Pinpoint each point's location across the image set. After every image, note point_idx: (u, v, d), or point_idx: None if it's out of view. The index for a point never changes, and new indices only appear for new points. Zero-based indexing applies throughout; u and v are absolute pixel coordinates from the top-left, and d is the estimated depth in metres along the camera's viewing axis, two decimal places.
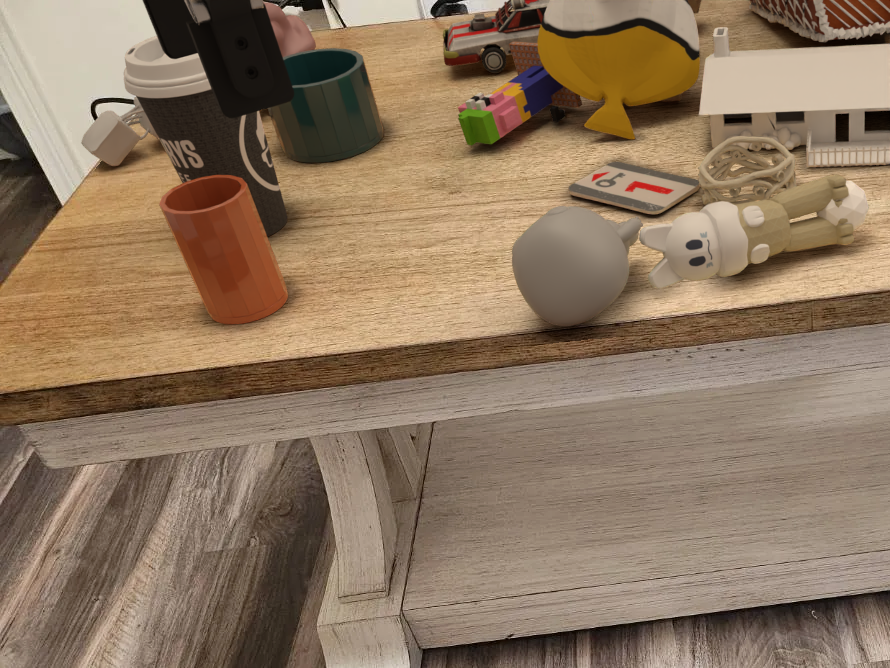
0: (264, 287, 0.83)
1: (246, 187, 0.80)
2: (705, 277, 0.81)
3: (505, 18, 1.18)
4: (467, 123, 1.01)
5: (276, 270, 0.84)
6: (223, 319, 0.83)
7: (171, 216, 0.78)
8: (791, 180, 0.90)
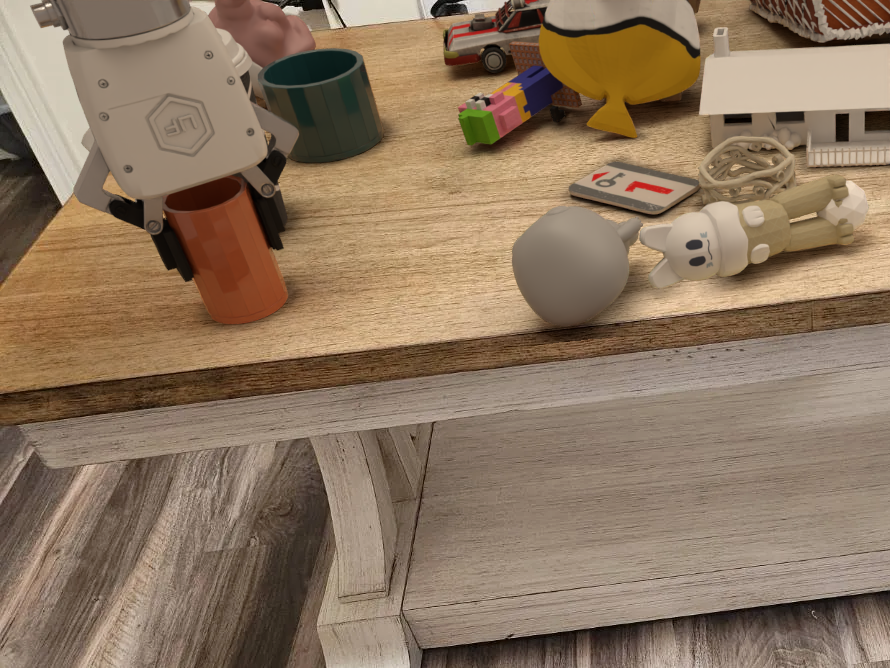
0: (264, 287, 0.83)
1: (246, 187, 0.80)
2: (705, 277, 0.81)
3: (505, 18, 1.18)
4: (467, 123, 1.01)
5: (276, 270, 0.84)
6: (223, 319, 0.83)
7: (171, 216, 0.78)
8: (791, 180, 0.90)
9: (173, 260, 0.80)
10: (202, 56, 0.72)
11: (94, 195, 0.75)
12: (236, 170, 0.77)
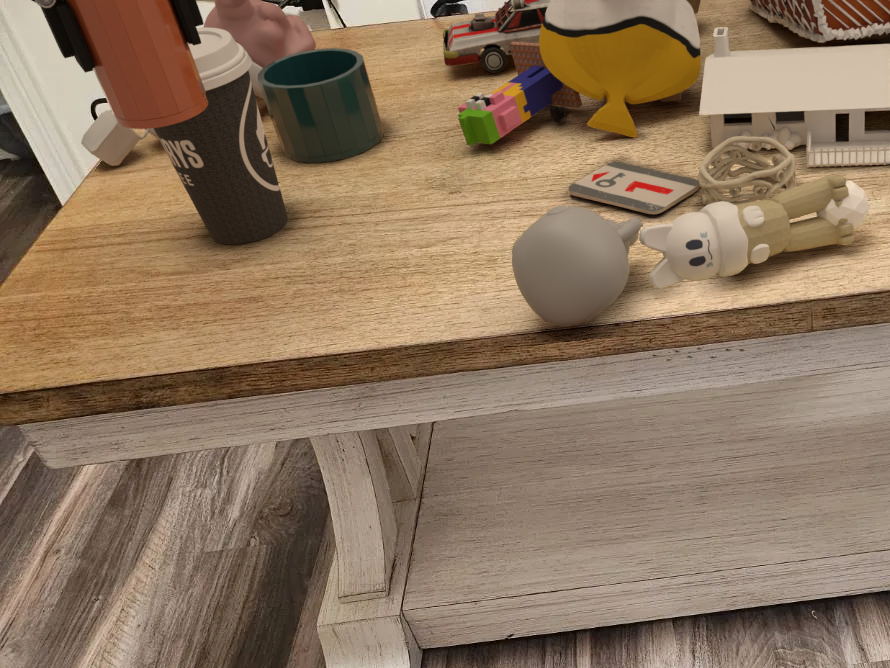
0: (178, 86, 0.73)
1: None
2: (705, 277, 0.81)
3: (505, 18, 1.18)
4: (467, 123, 1.01)
5: (193, 69, 0.74)
6: (131, 123, 0.73)
7: None
8: (791, 179, 0.90)
9: (70, 44, 0.70)
10: None
11: None
12: None
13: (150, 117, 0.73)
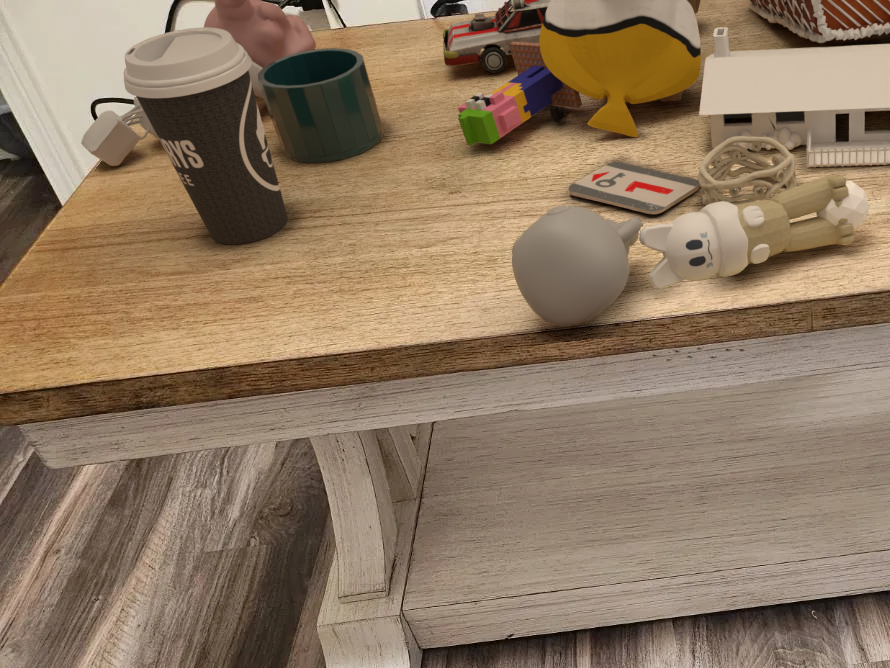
0: None
1: None
2: (705, 277, 0.81)
3: (505, 18, 1.18)
4: (467, 123, 1.01)
5: None
6: None
7: None
8: (791, 179, 0.90)
9: None
10: None
11: None
12: None
13: None
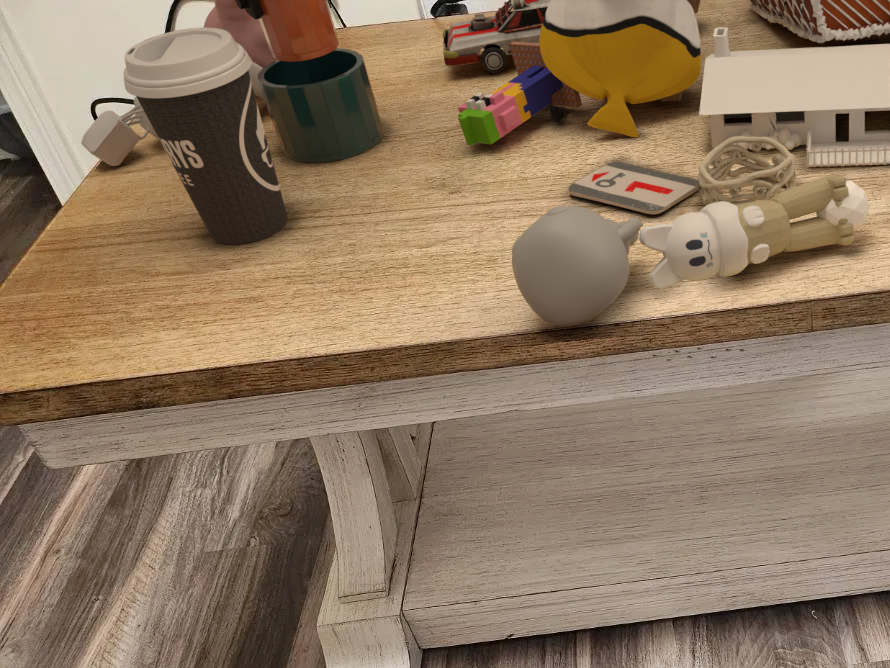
0: (320, 28, 0.99)
1: None
2: (705, 277, 0.81)
3: (505, 18, 1.18)
4: (467, 123, 1.01)
5: (330, 17, 1.00)
6: (285, 57, 0.99)
7: None
8: (791, 179, 0.90)
9: None
10: None
11: None
12: None
13: (300, 52, 0.99)
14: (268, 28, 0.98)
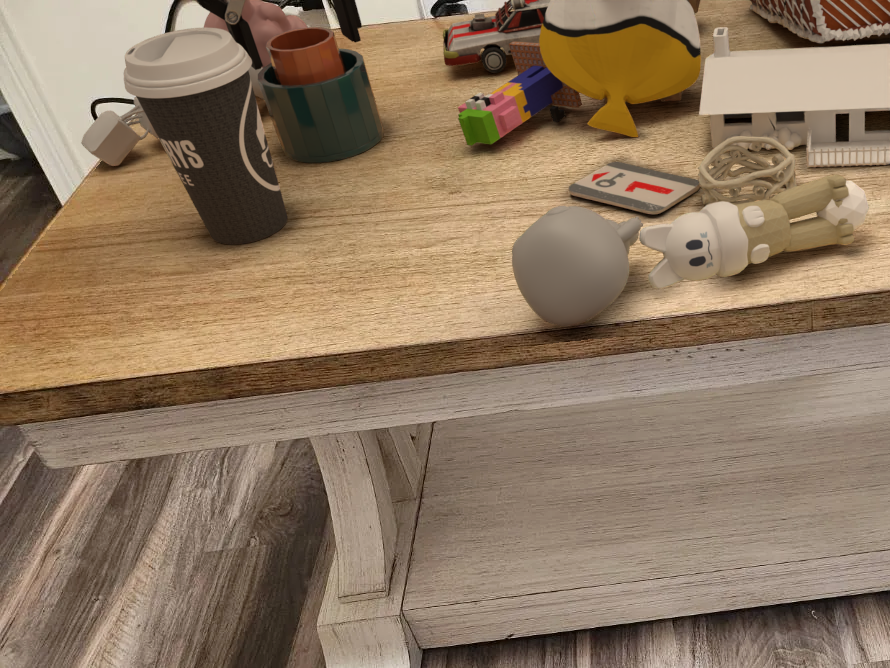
0: None
1: (333, 34, 1.01)
2: (705, 277, 0.81)
3: (505, 18, 1.18)
4: (467, 123, 1.01)
5: None
6: None
7: (276, 53, 0.99)
8: (791, 179, 0.90)
9: (246, 50, 0.98)
10: None
11: None
12: None
13: None
14: None
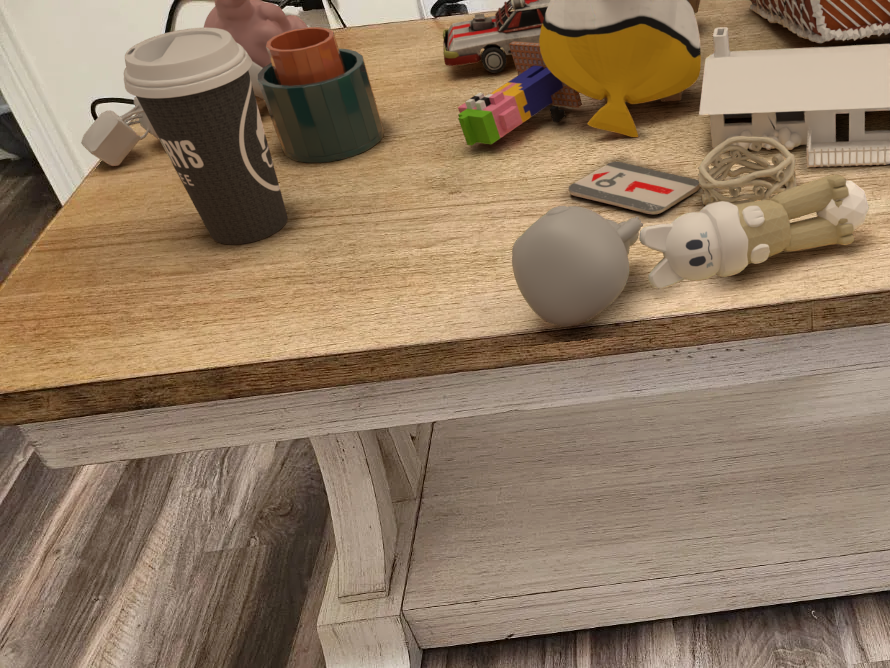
0: None
1: (333, 34, 1.01)
2: (705, 277, 0.81)
3: (505, 18, 1.18)
4: (467, 123, 1.01)
5: None
6: None
7: (276, 53, 0.99)
8: (791, 179, 0.90)
9: None
10: None
11: None
12: None
13: None
14: None
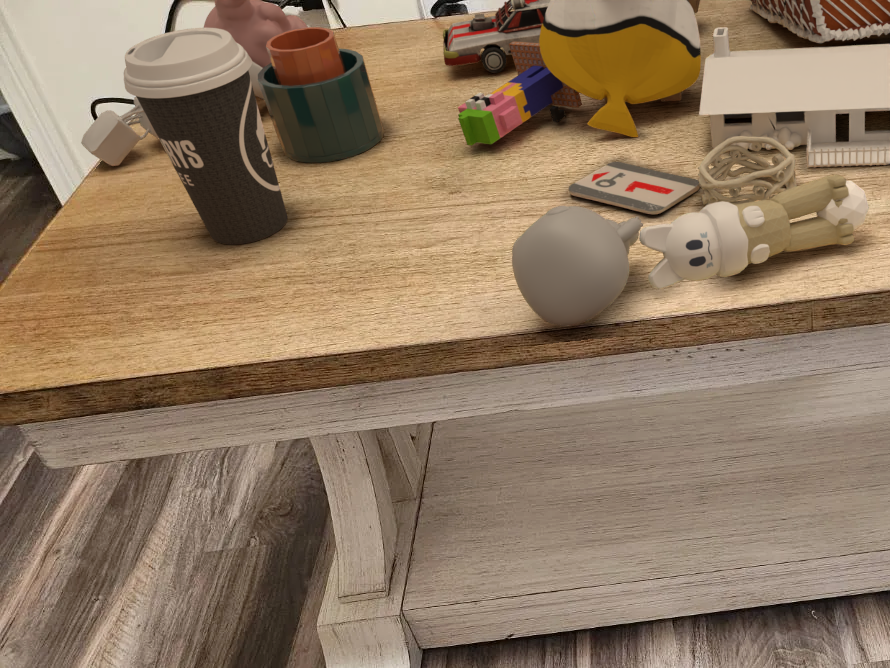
0: None
1: (333, 34, 1.01)
2: (705, 277, 0.81)
3: (505, 18, 1.18)
4: (467, 123, 1.01)
5: None
6: None
7: (276, 53, 0.99)
8: (791, 179, 0.90)
9: None
10: None
11: None
12: None
13: None
14: None
